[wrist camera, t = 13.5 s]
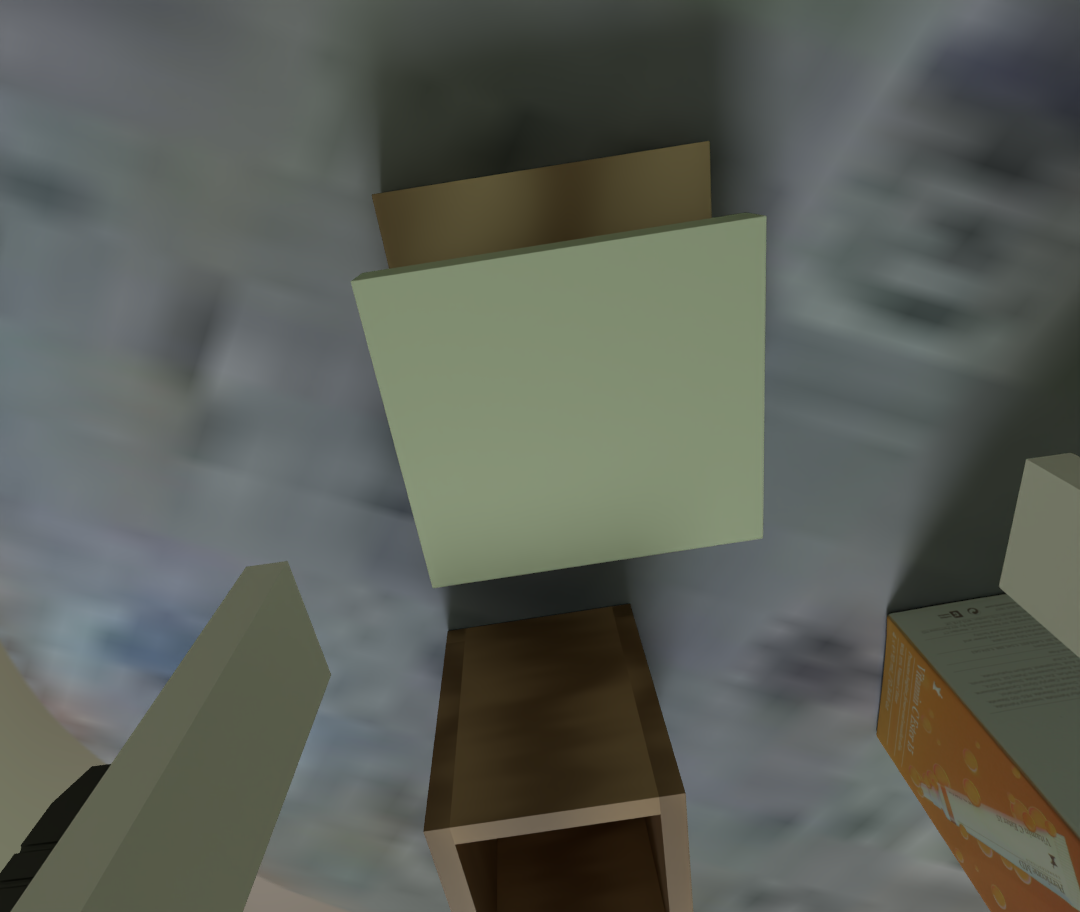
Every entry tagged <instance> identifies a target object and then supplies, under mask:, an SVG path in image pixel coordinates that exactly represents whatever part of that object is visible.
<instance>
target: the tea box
mask: <svg viewBox="0 0 1080 912" xmlns="http://www.w3.org/2000/svg"><path fill="white" fill-rule="evenodd" d="M424 835H425V838H426V840H427V843H428V846H429V849H430V852H431V855H432V858H433V861H434V863H435V866H436V869H437V872H438V875H439V878H440V881H441V884H442V887H443V889H444V892H445V895H446V898H447V901H448V904H449V907H450V910H451V912H693V901H692V886H691V871H690V855H689V840H688V825H687V809H686V794H685V790H684V787H683V783H682V780H681V776H680V773H679V770H678V766H677V763H676V759H675V756H674V752H673V749H672V746H671V742H670V739H669V735H668V732H667V728H666V725H665V722H664V718H663V715H662V711H661V708H660V705H659V701H658V698H657V694H656V691H655V687H654V684H653V681H652V677H651V674H650V670H649V667H648V664H647V660H646V657H645V653H644V650H643V646H642V643H641V640H640V636H639V633H638V629H637V626H636V623H635V619H634V616H633V612H632V609H631V605H630V604H625V605H618V606H611V607H605V608H598V609H592V610H585V611H578V612H572V613H565V614H558V615H552V616H545V617H538V618H532V619H525V620H519V621H512V622H505V623H499V624H492V625H485V626H479V627H472V628H465V629H459V630H452V631H448V634H447V642H446V650H445V658H444V667H443V675H442V683H441V691H440V700H439V708H438V716H437V724H436V733H435V741H434V749H433V757H432V766H431V774H430V782H429V790H428V799H427V807H426V815H425V823H424Z"/></svg>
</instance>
